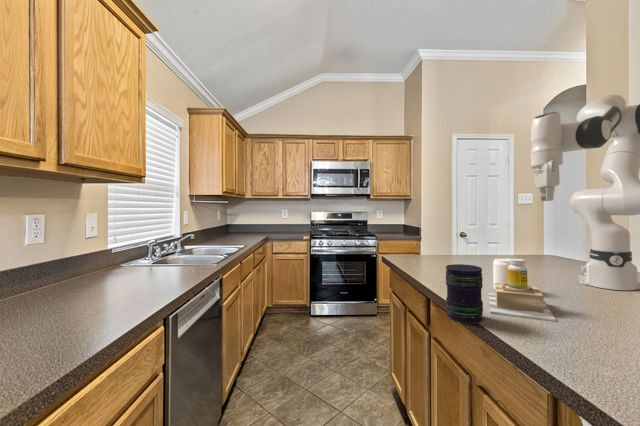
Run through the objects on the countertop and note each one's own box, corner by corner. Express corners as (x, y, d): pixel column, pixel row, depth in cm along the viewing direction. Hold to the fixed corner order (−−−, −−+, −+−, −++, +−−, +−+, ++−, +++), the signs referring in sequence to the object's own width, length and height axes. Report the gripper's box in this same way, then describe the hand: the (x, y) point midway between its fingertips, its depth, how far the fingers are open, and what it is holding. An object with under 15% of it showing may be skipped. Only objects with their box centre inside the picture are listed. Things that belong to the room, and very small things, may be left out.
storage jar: (446, 321, 87) (446, 269, 86) (445, 310, 96) (444, 263, 96) (486, 325, 83) (485, 271, 83) (480, 313, 92) (479, 265, 92)
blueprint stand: (488, 294, 112) (488, 278, 112) (541, 299, 104) (541, 282, 104) (490, 313, 92) (490, 293, 92) (555, 321, 85) (555, 300, 85)
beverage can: (494, 287, 122) (494, 257, 122) (518, 289, 117) (518, 259, 117) (492, 291, 115) (491, 260, 115) (517, 295, 111) (517, 262, 110)
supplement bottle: (512, 285, 102) (512, 257, 102) (530, 289, 98) (530, 259, 98) (504, 288, 99) (504, 259, 99) (523, 292, 95) (522, 261, 95)
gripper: (565, 155, 93) (566, 200, 93) (551, 163, 111) (551, 201, 111) (540, 157, 96) (541, 200, 96) (530, 164, 114) (531, 201, 114)
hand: (546, 201), depth 104 cm, fingers open, 8 cm apart
